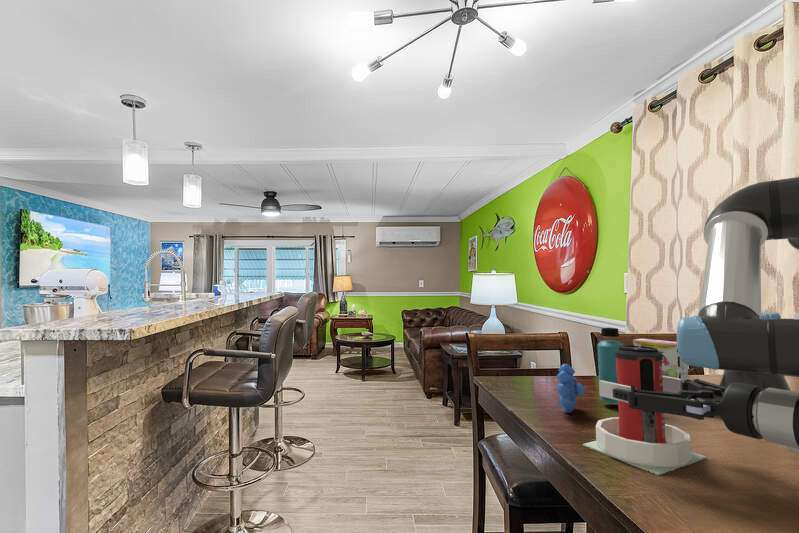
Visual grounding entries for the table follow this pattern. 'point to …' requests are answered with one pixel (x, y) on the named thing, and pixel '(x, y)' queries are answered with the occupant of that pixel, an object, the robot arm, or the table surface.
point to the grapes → (568, 388)
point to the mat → (651, 469)
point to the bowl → (644, 446)
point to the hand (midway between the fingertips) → (624, 383)
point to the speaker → (645, 374)
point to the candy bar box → (667, 357)
